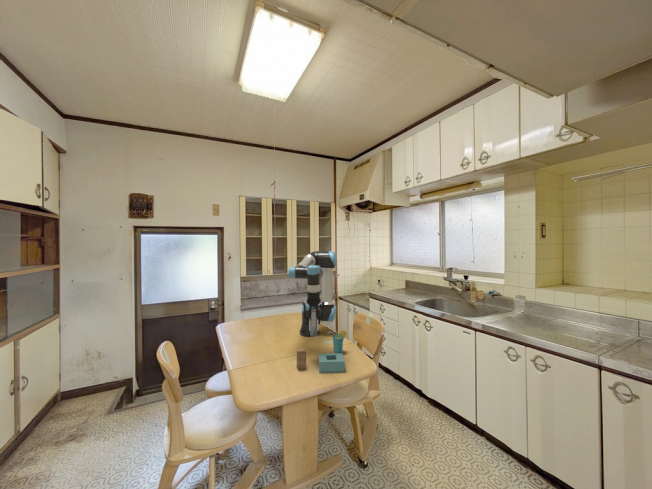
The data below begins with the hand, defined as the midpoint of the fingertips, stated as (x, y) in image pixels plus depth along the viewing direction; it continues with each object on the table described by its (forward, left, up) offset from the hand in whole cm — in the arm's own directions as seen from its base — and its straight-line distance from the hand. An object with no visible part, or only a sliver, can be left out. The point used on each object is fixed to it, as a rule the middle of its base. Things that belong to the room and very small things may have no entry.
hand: (313, 329), depth 152 cm
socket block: (+9, +10, -19) cm, 23 cm away
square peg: (+8, -7, -19) cm, 22 cm away
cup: (-10, +15, -19) cm, 26 cm away
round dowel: (0, 0, -3) cm, 3 cm away
